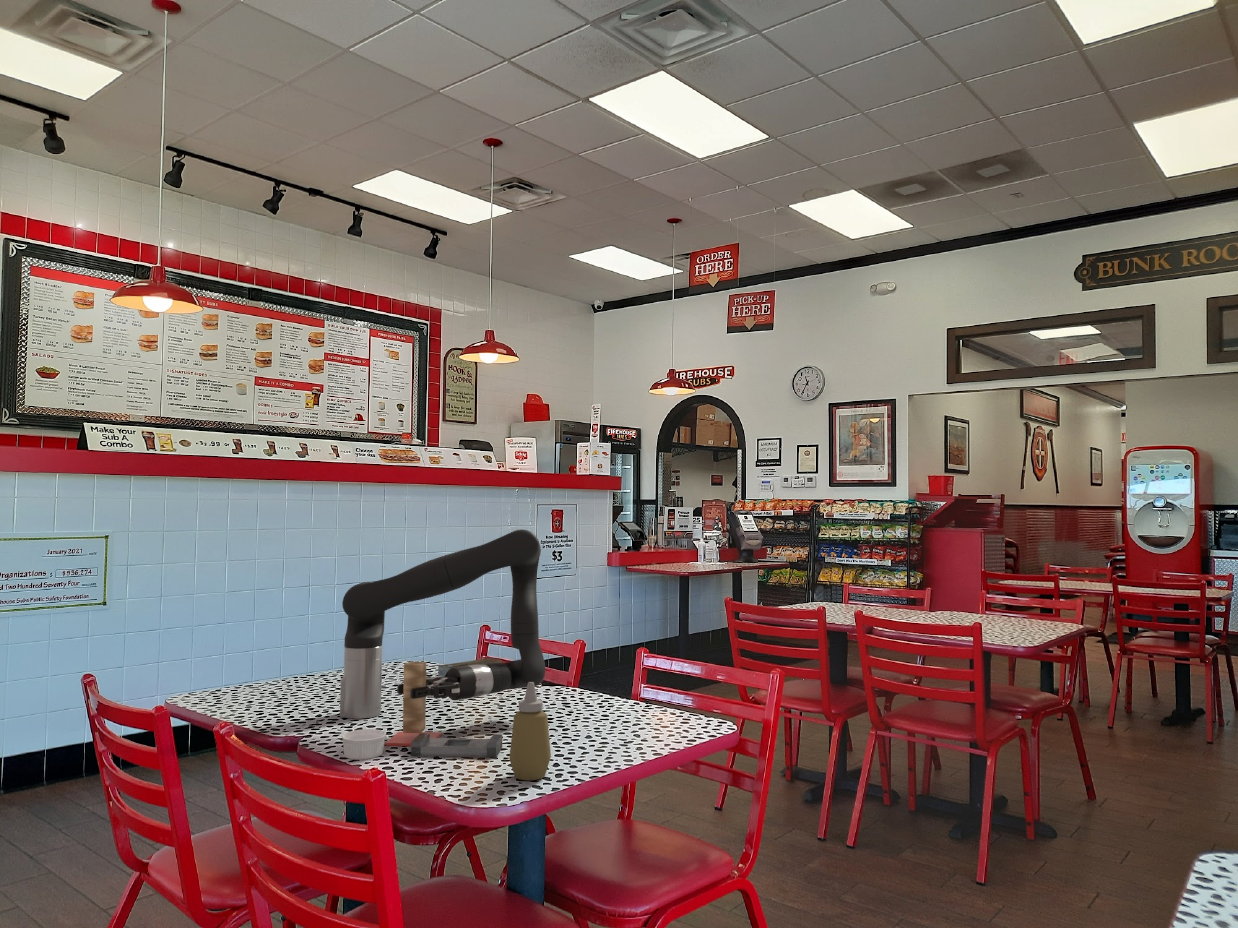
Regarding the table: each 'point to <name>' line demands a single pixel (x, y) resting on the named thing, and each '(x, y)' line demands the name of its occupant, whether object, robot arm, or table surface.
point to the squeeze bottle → (530, 738)
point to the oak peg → (414, 707)
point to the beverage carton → (444, 668)
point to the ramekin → (363, 744)
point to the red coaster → (407, 738)
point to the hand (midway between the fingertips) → (404, 691)
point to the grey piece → (456, 746)
